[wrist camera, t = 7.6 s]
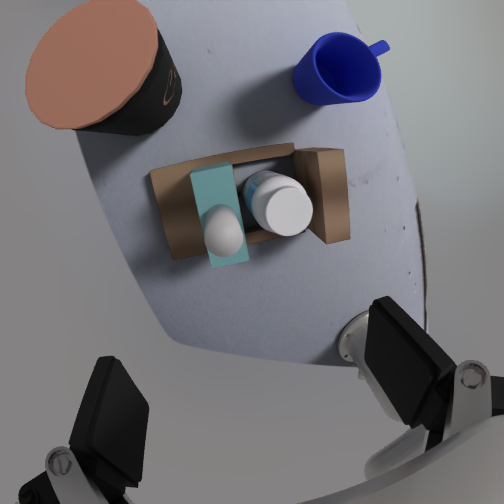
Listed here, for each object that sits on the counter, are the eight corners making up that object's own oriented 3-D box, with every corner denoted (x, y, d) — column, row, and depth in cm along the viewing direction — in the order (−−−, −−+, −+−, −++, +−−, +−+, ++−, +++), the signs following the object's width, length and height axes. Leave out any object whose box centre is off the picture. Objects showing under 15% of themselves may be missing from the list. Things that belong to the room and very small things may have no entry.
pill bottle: (273, 222, 37) (298, 254, 26) (233, 201, 35) (244, 226, 25) (296, 184, 35) (331, 201, 25) (257, 160, 33) (279, 167, 23)
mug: (369, 82, 31) (412, 70, 22) (310, 122, 32) (345, 115, 23) (336, 37, 28) (371, 13, 18) (272, 74, 29) (295, 50, 20)
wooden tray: (321, 224, 38) (350, 247, 30) (174, 256, 36) (165, 288, 28) (311, 140, 33) (342, 139, 25) (152, 170, 32) (133, 178, 23)
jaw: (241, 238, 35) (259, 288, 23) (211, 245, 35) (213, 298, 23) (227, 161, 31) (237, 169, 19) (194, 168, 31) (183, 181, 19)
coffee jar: (192, 118, 30) (174, 88, 14) (115, 149, 30) (37, 156, 13) (172, 48, 26) (144, -25, 9) (97, 79, 26) (20, 43, 9)
